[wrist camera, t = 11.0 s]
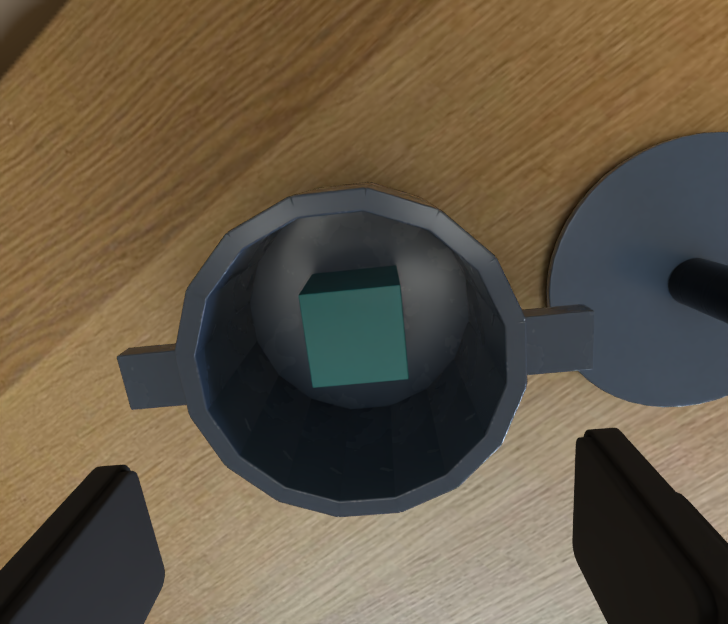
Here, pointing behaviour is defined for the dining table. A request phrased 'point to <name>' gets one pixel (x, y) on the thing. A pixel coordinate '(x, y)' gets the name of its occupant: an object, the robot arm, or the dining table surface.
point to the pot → (355, 401)
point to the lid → (653, 273)
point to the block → (354, 327)
